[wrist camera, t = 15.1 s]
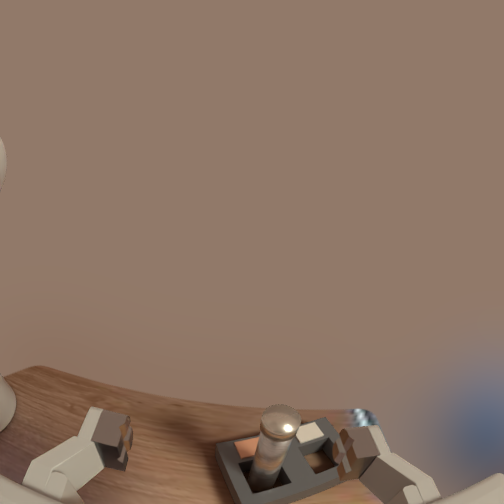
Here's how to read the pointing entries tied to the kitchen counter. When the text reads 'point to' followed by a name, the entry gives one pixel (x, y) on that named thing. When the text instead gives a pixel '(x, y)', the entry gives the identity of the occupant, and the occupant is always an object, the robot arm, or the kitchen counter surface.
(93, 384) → the kitchen counter surface
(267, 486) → the metal plug
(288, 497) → the socket board
